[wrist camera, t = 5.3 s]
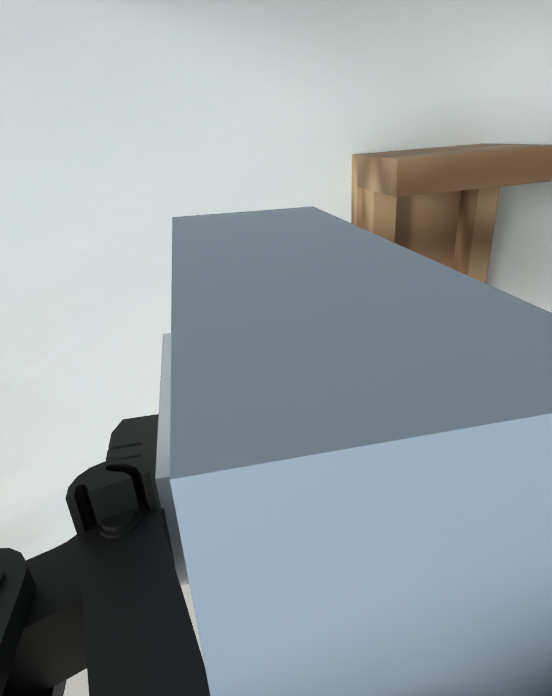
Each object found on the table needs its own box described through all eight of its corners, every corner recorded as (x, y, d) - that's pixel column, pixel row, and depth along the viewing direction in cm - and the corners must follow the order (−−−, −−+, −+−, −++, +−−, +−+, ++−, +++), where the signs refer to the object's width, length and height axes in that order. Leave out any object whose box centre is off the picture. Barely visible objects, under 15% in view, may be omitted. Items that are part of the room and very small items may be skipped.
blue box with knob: (172, 217, 14) (169, 480, 3) (342, 204, 15) (804, 369, 4) (205, 452, 17) (255, 934, 7) (338, 430, 18) (566, 824, 8)
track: (352, 154, 31) (397, 159, 24) (483, 143, 32) (557, 144, 26) (349, 436, 41) (381, 489, 35) (448, 417, 43) (495, 465, 36)
